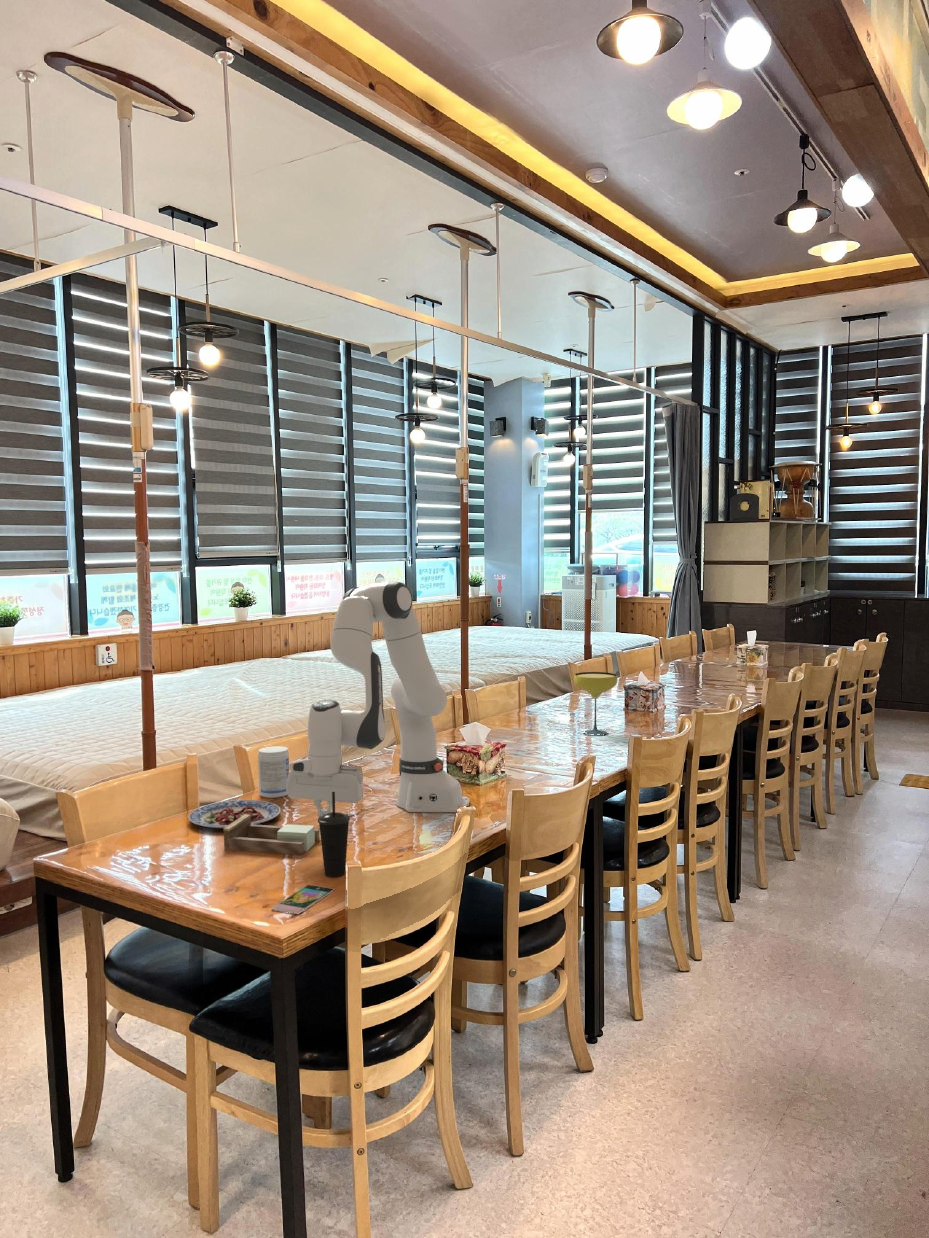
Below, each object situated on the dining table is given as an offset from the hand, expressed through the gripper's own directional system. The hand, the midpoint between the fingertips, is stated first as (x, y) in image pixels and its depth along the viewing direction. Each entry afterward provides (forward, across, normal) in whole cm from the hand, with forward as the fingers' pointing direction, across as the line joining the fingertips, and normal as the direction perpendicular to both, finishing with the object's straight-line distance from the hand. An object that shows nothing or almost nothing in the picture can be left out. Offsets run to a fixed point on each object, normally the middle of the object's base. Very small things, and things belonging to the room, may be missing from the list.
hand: (324, 816), depth 224 cm
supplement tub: (+9, +36, -44) cm, 57 cm away
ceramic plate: (+9, +35, -18) cm, 41 cm away
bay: (+9, +14, 0) cm, 17 cm away
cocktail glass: (+6, -56, -159) cm, 169 cm away
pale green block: (+9, +8, 0) cm, 12 cm away
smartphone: (+10, -8, +32) cm, 34 cm away
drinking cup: (+9, -9, +15) cm, 20 cm away
